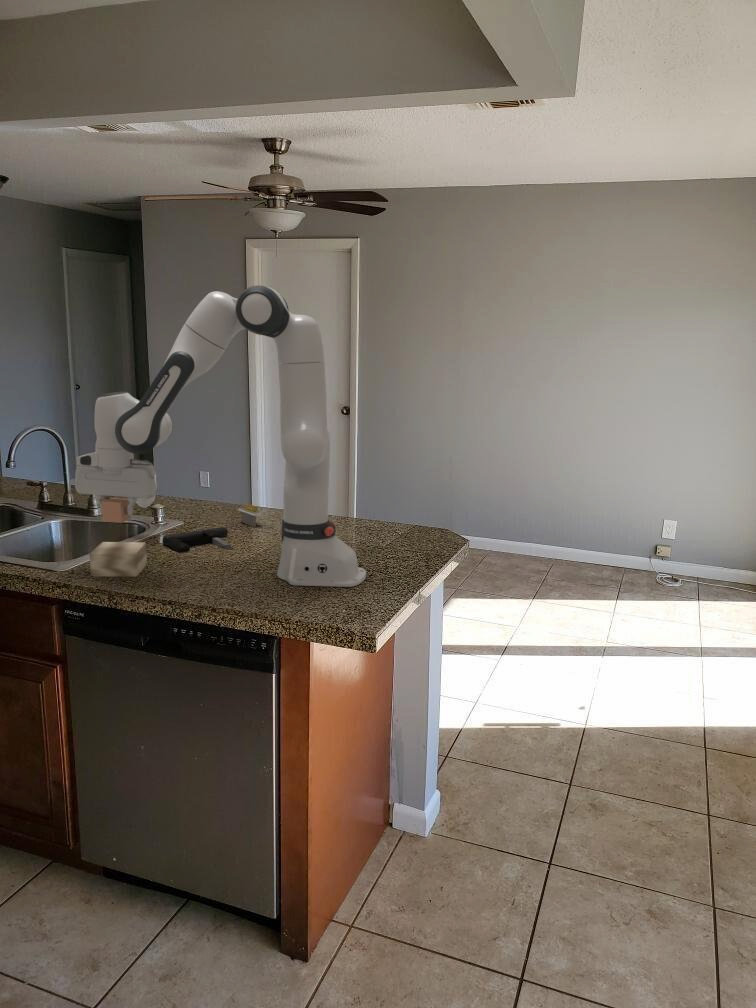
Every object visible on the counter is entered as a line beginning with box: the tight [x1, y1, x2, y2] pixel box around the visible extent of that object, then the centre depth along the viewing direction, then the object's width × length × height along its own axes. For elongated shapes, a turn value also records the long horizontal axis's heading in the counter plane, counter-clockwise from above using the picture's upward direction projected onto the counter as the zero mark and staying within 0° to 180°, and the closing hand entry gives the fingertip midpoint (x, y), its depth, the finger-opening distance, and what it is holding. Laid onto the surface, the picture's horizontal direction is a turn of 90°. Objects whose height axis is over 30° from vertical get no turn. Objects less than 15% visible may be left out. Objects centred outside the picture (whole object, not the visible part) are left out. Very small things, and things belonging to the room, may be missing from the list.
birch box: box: [89, 541, 148, 578], centre depth 197 cm, size 11×11×6 cm
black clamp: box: [162, 526, 232, 553], centre depth 224 cm, size 3×20×16 cm
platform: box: [237, 503, 262, 528], centre depth 248 cm, size 12×18×7 cm, turn 41°
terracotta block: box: [101, 496, 132, 524], centre depth 195 cm, size 5×5×5 cm
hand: (116, 513), depth 195 cm, fingers closed on terracotta block, 5 cm apart
